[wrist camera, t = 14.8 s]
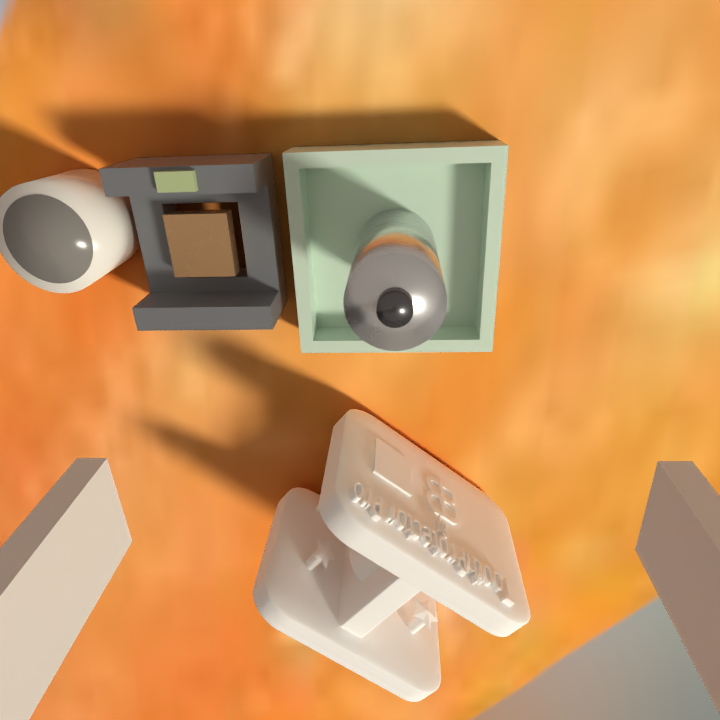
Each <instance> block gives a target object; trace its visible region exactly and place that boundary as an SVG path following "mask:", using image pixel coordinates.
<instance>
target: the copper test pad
mask: <svg viewBox="0 0 720 720" xmlns="http://www.w3.org/2000/svg"><path fill="white" fill-rule="evenodd" d="M163 220H164V225H165V230H166V235H167V240H168V245H169V250H170V255H171V260H172V265H173V270H174V275H175V277H229V276H236V275H237V274H238V273H239V272H240V268H239V261H238V254H237V247H236V240H235V233H234V226H233V219H232V212H231V210H194V211H169V212H167V213H165V214H163Z"/></svg>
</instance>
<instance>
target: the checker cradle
mask: <svg viewBox="0 0 720 720" xmlns="http://www.w3.org/2000/svg"><path fill="white" fill-rule="evenodd" d="M99 172H100V176H101V180H102V185H103V189H104V193H105V197H121V196H129V197H130V202H131V206H132V211H133V215H134V220H135V224H136V229H137V233H138V238H139V242H140V247H141V251H142V256H143V260H144V265H145V269H146V274H147V278H148V283H149V287H150V292H151V293H150V294H148V295H147V296H146V297H145V298H144V299H142V300H141V301H140V302H139V303H138V304H137V305H135V306H134V307H133V308H132V309H133V313H134V317H135V321H136V326H137V330H138V331H143V330H251V329H273V328H274V326H275V324H276V322H277V320H278V318H279V316H280V314H281V312H282V310H283V308H284V306H285V304H286V302H287V293H286V283H285V274H284V264H283V254H282V245H281V235H280V225H279V216H278V206H277V196H276V187H275V177H274V168H273V158H272V153H263V154H233V155H203V156H172V157H142V158H134V159H131V160H127V161H124V162H120V163H117V164H113V165H110V166H107V167H103V168H100V169H99ZM211 202H238V208H239V215H240V223H241V230H242V238H243V245H244V252H245V260H246V267H239V268H240V272H239V273H238V274H237V275H236V276H229V277H175V275H174V270H173V265H172V260H171V255H170V250H169V245H168V240H167V235H166V230H165V225H164V220H163V214H165V213H167V212H169V211H177V208H176V203H211Z"/></svg>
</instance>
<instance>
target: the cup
mask: <svg viewBox="0 0 720 720" xmlns="http://www.w3.org/2000/svg"><path fill="white" fill-rule="evenodd" d="M139 246H140V242H139V238H138V233H137V229H136V224H135V220H134V215H133V211H132V206H131V202H130V197H129V196H121V197H105V193H104V189H103V185H102V180H101V176H100V172H99V171H97V170H93V169H74V170H71V171H67V172H63V173H59V174H56V175H52V176H48V177H45V178H41V179H37V180H33V181H30V182H26V183H22V184H19V185H16V186H14V187H12V188H10V189H9V190H7V191H6V192H5V193H4V194H3V195H2V196H1V197H0V252H1V254H2V256H3V257H4V259H5V260H6V262H7V263H8V264H9V265H10V266H11V268H12V269H13V270H14V271H15V272H16V273H17V274H18V275H20V276H21V277H22V278H23V279H25V280H26V281H28V282H29V283H31V284H33V285H35V286H36V287H39V288H41V289H44V290H47V291H50V292H56V293H72V292H76V291H79V290H82V289H84V288H86V287H87V286H89V285H91V284H92V283H94V282H95V281H97V280H98V279H100V278H101V277H103V276H104V275H106V274H107V273H109V272H110V271H112V270H113V269H115V268H116V267H118V266H120V265H121V264H123V263H124V262H126V261H127V260H129V259H130V258H131V257H132V256H133V255H134V254H135V253H136V251H137V250H138V248H139Z"/></svg>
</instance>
